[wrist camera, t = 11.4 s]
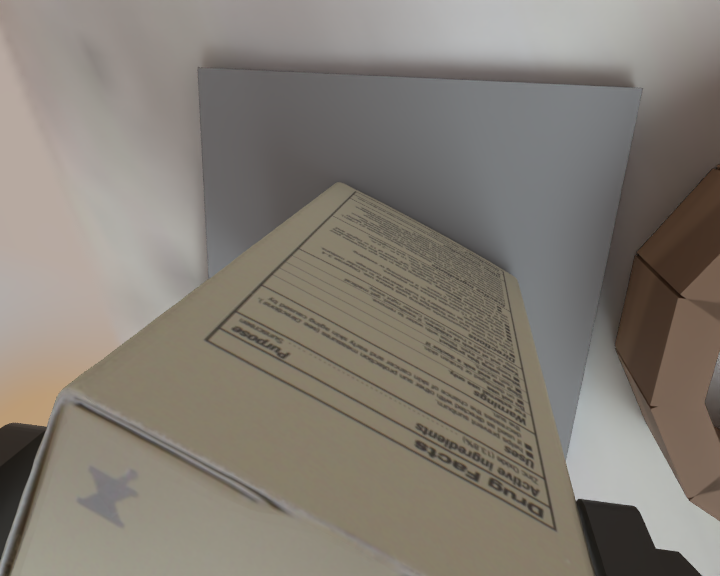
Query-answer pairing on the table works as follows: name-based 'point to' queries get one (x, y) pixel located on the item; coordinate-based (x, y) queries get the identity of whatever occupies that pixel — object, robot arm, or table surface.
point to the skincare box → (313, 422)
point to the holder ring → (679, 339)
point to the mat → (436, 178)
